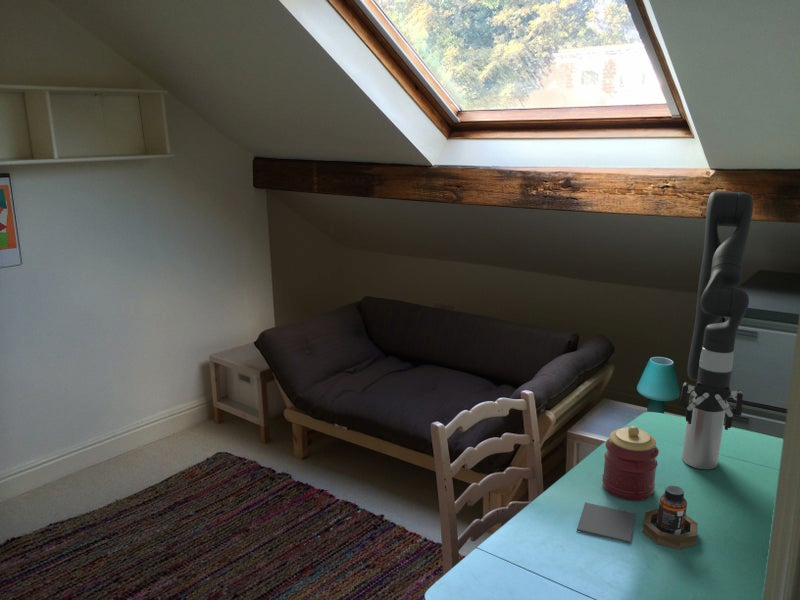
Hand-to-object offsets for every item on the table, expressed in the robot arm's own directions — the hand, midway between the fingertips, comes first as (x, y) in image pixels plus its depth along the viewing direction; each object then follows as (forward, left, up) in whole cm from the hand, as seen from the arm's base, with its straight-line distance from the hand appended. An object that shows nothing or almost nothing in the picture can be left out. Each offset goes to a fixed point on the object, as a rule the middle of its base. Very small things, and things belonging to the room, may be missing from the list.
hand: (707, 425), depth 177 cm
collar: (+25, -6, -17) cm, 31 cm away
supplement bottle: (+25, -6, -17) cm, 31 cm away
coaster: (+27, -20, -17) cm, 38 cm away
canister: (+9, -17, -17) cm, 26 cm away
